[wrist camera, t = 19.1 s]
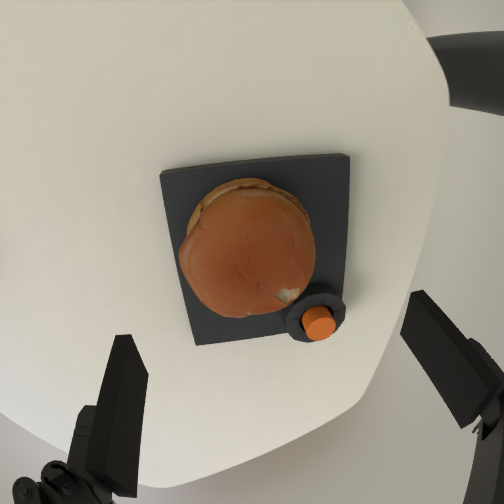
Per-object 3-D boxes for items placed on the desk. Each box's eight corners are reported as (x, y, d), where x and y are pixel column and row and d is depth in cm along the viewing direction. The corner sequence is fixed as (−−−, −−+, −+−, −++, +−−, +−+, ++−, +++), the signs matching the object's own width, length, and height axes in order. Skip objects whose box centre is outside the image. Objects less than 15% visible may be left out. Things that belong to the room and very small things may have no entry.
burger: (211, 158, 20) (213, 173, 16) (325, 205, 23) (350, 230, 19) (166, 275, 24) (160, 311, 20) (270, 305, 27) (282, 342, 23)
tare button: (330, 302, 26) (337, 314, 25) (328, 325, 27) (334, 337, 26) (301, 307, 26) (307, 320, 24) (301, 330, 27) (306, 343, 26)
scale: (342, 153, 23) (359, 160, 20) (334, 316, 30) (344, 335, 28) (161, 170, 22) (155, 180, 19) (196, 337, 29) (196, 359, 27)
